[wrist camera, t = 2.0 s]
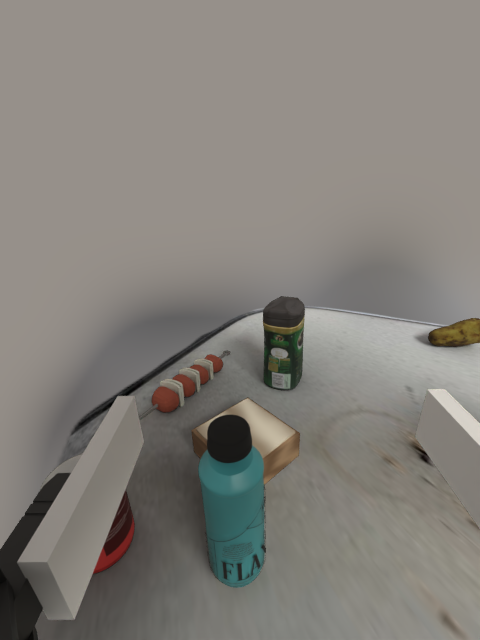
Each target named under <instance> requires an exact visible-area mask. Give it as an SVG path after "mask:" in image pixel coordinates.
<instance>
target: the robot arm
mask: <svg viewBox="0 0 480 640" xmlns="http://www.w3.org/2000/svg"><path fill="white" fill-rule="evenodd" d="M415 438H416V439H417V440H418V442H419V443H420V445H421V446H422V448H423V449H424V450H425V452H426V453H427V455H428V456H429V457H430V459H431V460H432V462H433V463H434V465H435V466H436V467H437V469H438V470H439V472H440V473H441V475H442V476H443V477H444V479H445V480H446V482H447V483H448V484H449V486H450V487H451V489H452V490H453V492H454V493H455V494H456V496H457V497H458V499H459V500H460V502H461V503H462V504H463V506H464V507H465V509H466V510H467V512H468V513H469V514H470V516H471V517H472V519H473V520H474V521H475V523H476V524H477V526H478V527H479V529H480V423H479V422H478V421H477V420H476V419H475V418H474V417H473V416H472V415H471V414H470V413H469V412H468V411H467V410H466V409H465V408H463V407H462V406H461V405H460V404H459V403H458V402H457V401H456V400H455V399H454V398H453V397H452V396H451V395H450V394H449V393H448V392H447V391H446V390H445V389H427V392H426V396H425V400H424V404H423V408H422V411H421V415H420V419H419V423H418V427H417V431H416V435H415ZM143 444H144V439H143V435H142V430H141V425H140V420H139V415H138V411H137V406H136V401H135V396H118V397H117V398H116V400H115V402H114V403H113V405H112V407H111V408H110V410H109V412H108V413H107V415H106V416H105V418H104V420H103V421H102V423H101V425H100V426H99V428H98V430H97V431H96V433H95V435H94V436H93V438H92V440H91V441H90V443H89V444H88V446H87V448H86V449H85V451H84V453H83V454H82V456H81V458H80V459H79V461H78V463H77V464H76V466H75V467H74V469H73V471H72V472H71V473H57V474H56V475H55V476H54V477H53V478H52V479H50V480H49V481H48V482H47V483H46V484H45V485H44V486H43V487H42V489H41V490H40V492H39V493H38V495H37V496H36V498H35V499H34V501H33V504H31V505H30V506H29V508H28V509H27V511H26V512H25V516H24V517H22V518H21V520H20V521H19V523H18V524H17V526H16V527H15V529H14V530H13V532H12V533H11V535H10V536H9V538H8V539H7V541H6V542H5V544H4V545H3V547H2V548H1V549H0V640H38V636H37V631H36V629H35V624H36V622H37V620H38V618H39V615H40V613H41V611H42V610H43V612H44V613H45V615H46V617H47V619H48V620H75V617H76V615H77V612H78V610H79V607H80V604H81V602H82V599H83V597H84V594H85V592H86V589H87V587H88V584H89V581H90V579H91V576H92V574H93V571H94V569H95V566H96V564H97V561H98V558H99V556H100V553H101V551H102V548H103V546H104V543H105V541H106V538H107V536H108V533H109V530H110V528H111V525H112V523H113V520H114V518H115V515H116V513H117V510H118V507H119V505H120V502H121V500H122V497H123V495H124V492H125V490H126V487H127V484H128V482H129V479H130V477H131V474H132V472H133V469H134V467H135V464H136V461H137V459H138V456H139V454H140V451H141V449H142V446H143Z"/></svg>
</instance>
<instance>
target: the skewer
mask: <svg viewBox="0 0 480 640" xmlns="http://www.w3.org/2000/svg"><path fill="white" fill-rule="evenodd" d="M225 353H227V355H230V351H224V352H223V354H222V355H221V356H220V357H216V356H214V355H211V354H210V355H207V356H206V357H205V359H197V360H195V365H193V366H191V367H190V368H183V369H180V370H179V374H178V375H176V376H175V377H174V378H173V379H165V380H164V381H161V382H160V387H159V388H158V389H157V390H156V391H155V392H154V394H153V396H152V404H153V407H151V408H150V409H149V410H147V411H146V412H145V413H143V414H142V415H141V416H139V420H141V419H142V418H144V417H145V416H146V415H148V414H149V413H150V412H152V411H153V410H154V409H158V410H160V411H162V412H170V411H172V410H174V409H176V408H177V407H178V405H179V406H180V407H183V405H184V397H189V396H191V395H193V394H194V392H195V390H196V391H197V392H199V390H200V384H205V383H206V382H207V381H208V379H210V380H212V378H213V372H218V371H220V370H221V369H222V367H223V362H222V360H221V358H223V357H224V356H225V355H226V354H225Z"/></svg>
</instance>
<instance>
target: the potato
mask: <svg viewBox="0 0 480 640" xmlns="http://www.w3.org/2000/svg"><path fill="white" fill-rule="evenodd" d="M428 339H429V342H430V343H432V344H434V345H437V346H453V347H456V346H464V345H469V344H474V343H480V319H478V318H471V319H467V320H463V321H460V322H457V323H455V324H452V325H450V326H446V327H441V328H438V329H434V330H433V331H431V332H430V333H429V336H428Z"/></svg>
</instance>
